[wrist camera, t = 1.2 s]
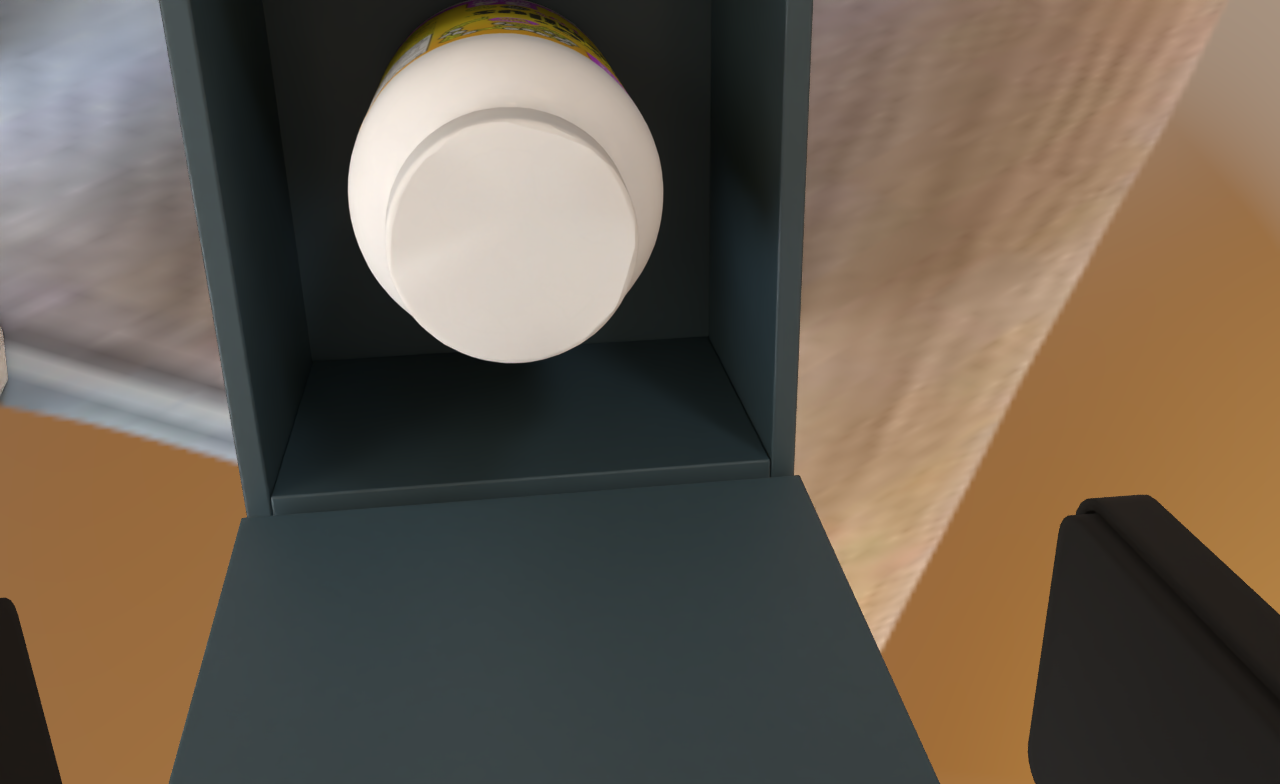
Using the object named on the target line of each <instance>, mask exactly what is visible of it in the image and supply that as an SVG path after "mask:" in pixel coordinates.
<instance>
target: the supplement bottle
mask: <svg viewBox="0 0 1280 784" xmlns="http://www.w3.org/2000/svg"><path fill="white" fill-rule="evenodd" d="M348 201H349V210H350V216H351V221H352V225H353V229H354V233H355V236H356V239H357V242H358V245H359V247H360V250H361V252H362V254H363V256H364V258H365V260H366V262H367V264H368V267H369V268H370V270H371V272H372V273H373V275H374V276H375V278H376V279H377V281H378V282H379V283H380V285H381V286H382V287H383V288H384V289H385V291H386V292H387V293H388V294H389V295H390V297H391V298H393V299H394V300H395V301H396V302H397V303H398V304H399V305H400V306H401V307H402V308H403V309H404V310H406V311H407V312H408V313H409V314H410V315H412V316H413V317H414V319H415V320H416V321H417V322H418V323H419V324H420V325H421V326H422V327H423V328H424V329H425V330H426V331H428V332H429V333H430V334H431V335H432V336H434V337H435V338H436V339H438V340H439V341H440V342H442V343H443V344H445V345H447V346H449V347H451V348H453V349H455V350H457V351H459V352H461V353H463V354H466V355H469V356H471V357H475V358H478V359H482V360H487V361H494V362H501V363H525V362H533V361H538V360H543V359H547V358H550V357H553V356H556V355H559V354H561V353H564V352H566V351H568V350H570V349H572V348H574V347H576V346H578V345H579V344H581V343H583V342H584V341H585V340H587V339H588V338H590V337H591V336H592V335H594V334H595V333H596V332H597V331H598V330H600V329H601V328H602V327H603V326H604V325H605V324H606V323H607V321H608V320H609V319H610V318H611V317H612V315H613V314H614V313H615V311H616V310H617V308H618V307H619V305H620V304H621V302H622V300H623V298H624V297H625V295H626V294H627V293H628V291H629V290H630V289H631V287H632V286H633V285H634V283H635V282H636V280H637V279H638V277H639V276H640V274H641V272H642V271H643V269H644V267H645V265H646V263H647V262H648V260H649V257H650V255H651V252H652V250H653V248H654V245H655V242H656V239H657V235H658V232H659V227H660V222H661V216H662V209H663V180H662V170H661V164H660V159H659V155H658V152H657V149H656V146H655V143H654V140H653V137H652V135H651V132H650V130H649V128H648V126H647V124H646V122H645V120H644V118H643V116H642V115H641V113H640V111H639V110H638V108H637V106H636V105H635V103H634V102H633V100H632V99H631V98H630V96H629V95H628V93H627V92H626V90H625V89H624V87H623V86H622V84H621V82H620V81H619V79H618V78H617V76H616V75H615V73H614V72H613V70H612V69H611V67H610V66H609V64H608V62H607V61H606V59H605V58H604V56H603V55H602V53H601V52H600V51H599V49H598V48H597V47H596V46H595V45H594V43H593V42H592V41H591V40H590V39H589V38H588V37H587V36H586V35H585V34H584V33H583V32H582V31H581V30H580V29H579V28H578V27H577V26H576V25H575V24H574V23H572V22H571V21H569V20H568V19H566V18H565V17H563V16H562V15H560V14H558V13H557V12H555V11H553V10H551V9H549V8H547V7H544V6H542V5H539V4H536V3H533V2H530V1H526V0H468V1H464V2H461V3H457V4H455V5H452V6H450V7H447V8H445V9H443V10H441V11H439V12H438V13H436V14H434V15H433V16H431V17H430V18H428V19H427V20H426V21H424V22H423V23H422V24H421V25H419V26H418V27H417V28H416V29H415V30H414V31H413V32H412V33H411V34H410V35H409V36H408V37H407V39H406V40H405V41H404V42H403V43H402V44H401V46H400V47H399V48H398V50H397V52H396V53H395V55H394V56H393V58H392V60H391V61H390V63H389V65H388V67H387V68H386V70H385V72H384V75H383V77H382V79H381V82H380V84H379V86H378V88H377V91H376V93H375V95H374V98H373V100H372V102H371V105H370V107H369V109H368V112H367V114H366V116H365V118H364V120H363V123H362V125H361V127H360V130H359V133H358V135H357V139H356V142H355V145H354V149H353V152H352V156H351V161H350V168H349V175H348Z"/></svg>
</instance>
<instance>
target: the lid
mask: <svg viewBox="0 0 1280 784" xmlns="http://www.w3.org/2000/svg"><path fill="white" fill-rule="evenodd" d="M169 784H940V783H939V780H938V778H937V776H936V774H935V772H934V770H933V767H932V765H931V763H930V761H929V759H928V756H927V754H926V752H925V750H924V748H923V745H922V743H921V741H920V739H919V737H918V734H917V732H916V730H915V728H914V726H913V723H912V721H911V719H910V717H909V715H908V712H907V710H906V708H905V706H904V704H903V702H902V699H901V697H900V695H899V693H898V690H897V688H896V686H895V684H894V682H893V679H892V678H891V675H890V673H889V671H888V669H887V666H886V664H885V662H884V660H883V658H882V655H881V653H880V651H879V649H878V647H877V644H876V642H875V640H874V638H873V636H872V633H871V631H870V629H869V627H868V625H867V622H866V620H865V618H864V616H863V614H862V611H861V609H860V607H859V605H858V603H857V600H856V598H855V596H854V594H853V592H852V589H851V587H850V585H849V583H848V581H847V578H846V576H845V574H844V572H843V570H842V568H841V565H840V563H839V561H838V559H837V557H836V554H835V552H834V550H833V548H832V546H831V543H830V541H829V539H828V537H827V535H826V532H825V530H824V528H823V526H822V524H821V521H820V519H819V517H818V515H817V513H816V510H815V508H814V506H813V504H812V502H811V499H810V497H809V495H808V493H807V491H806V488H805V486H804V484H803V482H802V480H801V478H800V476H799V475H795V476H782V477H769V478H756V479H743V480H730V481H717V482H704V483H691V484H678V485H665V486H652V487H639V488H626V489H613V490H600V491H587V492H574V493H561V494H548V495H535V496H522V497H509V498H496V499H483V500H470V501H457V502H444V503H431V504H418V505H405V506H392V507H379V508H366V509H353V510H340V511H326V512H313V513H300V514H287V515H274V516H261V517H248V518H242V519H241V523H240V526H239V530H238V533H237V537H236V541H235V544H234V548H233V552H232V555H231V559H230V563H229V566H228V570H227V574H226V577H225V581H224V584H223V588H222V592H221V595H220V599H219V603H218V606H217V610H216V614H215V617H214V621H213V624H212V628H211V632H210V636H209V639H208V642H207V646H206V650H205V654H204V657H203V661H202V664H201V668H200V672H199V675H198V679H197V682H196V687H195V690H194V693H193V697H192V701H191V704H190V708H189V712H188V715H187V719H186V723H185V726H184V730H183V733H182V737H181V741H180V744H179V748H178V752H177V755H176V759H175V762H174V766H173V770H172V773H171V777H170V781H169Z"/></svg>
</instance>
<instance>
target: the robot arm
mask: <svg viewBox="0 0 1280 784" xmlns="http://www.w3.org/2000/svg"><path fill="white" fill-rule="evenodd" d="M1028 758H1029V764H1030V769H1031V773H1032V776H1033V778H1034V781H1035V783H1036V784H1280V615H1279V614H1278V613H1277V612H1276V611H1275V610H1274V609H1273V608H1272V607H1271V606H1270V605H1268V603H1266V602H1265V601H1264V600H1263V599H1262V598H1261V597H1260V596H1259V595H1258V594H1257V593H1256V592H1255V591H1254V590H1253V589H1251V588H1250V587H1249V586H1248V585H1247V584H1246V583H1245V582H1244V581H1243V580H1242V579H1241V578H1240V577H1239V576H1237V575H1236V574H1235V573H1234V572H1233V571H1232V570H1231V569H1230V568H1229V567H1228V566H1227V565H1226V564H1224V563H1223V562H1222V561H1221V560H1220V559H1219V558H1218V557H1217V556H1216V555H1215V554H1214V553H1213V552H1212V551H1210V550H1209V549H1208V548H1207V547H1206V546H1205V545H1204V544H1203V543H1202V542H1201V541H1200V540H1199V539H1198V538H1196V537H1195V536H1194V535H1193V534H1192V533H1191V532H1190V531H1189V530H1188V529H1186V527H1184V526H1183V525H1182V524H1181V523H1180V522H1179V521H1178V520H1177V519H1176V518H1175V517H1174V516H1173V515H1172V514H1171V513H1169V512H1168V511H1167V510H1166V509H1165V508H1164V507H1163V506H1162V505H1161V504H1160V503H1159V502H1158V501H1157V500H1155V499H1154V498H1152V497H1151V496H1149V495H1131V496H1118V497H1104V498H1091V499H1086V500H1085V501H1083V502H1082V503H1081V504H1080V506H1079V508H1078V509H1077V511H1076V515H1070V516H1067V517H1065V518H1064V519H1063V521H1062V523H1061V525H1060V529H1059V533H1058V540H1057V547H1056V555H1055V561H1054V568H1053V575H1052V582H1051V589H1050V596H1049V603H1048V609H1047V616H1046V623H1045V630H1044V637H1043V645H1042V651H1041V658H1040V665H1039V672H1038V679H1037V686H1036V693H1035V700H1034V707H1033V715H1032V721H1031V728H1030V735H1029V741H1028ZM0 784H62V781H61V777H60V773H59V770H58V766H57V762H56V758H55V755H54V751H53V747H52V743H51V739H50V735H49V732H48V728H47V724H46V720H45V717H44V712H43V709H42V705H41V701H40V697H39V693H38V690H37V686H36V682H35V678H34V675H33V671H32V667H31V663H30V659H29V655H28V652H27V648H26V644H25V640H24V636H23V632H22V629H21V625H20V621H19V617H18V614H17V611H16V608H15V606H14V604H13V603H12V602H11V600H9V599H7V598H0Z"/></svg>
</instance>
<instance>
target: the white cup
mask: <svg viewBox="0 0 1280 784" xmlns="http://www.w3.org/2000/svg"><path fill="white" fill-rule="evenodd" d="M7 380H8V375H7V365H6V356H5V346H4V337H3V331H2V329H1V327H0V395H1V393H2V391H3V389H4V387H5V385H6V382H7Z"/></svg>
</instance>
